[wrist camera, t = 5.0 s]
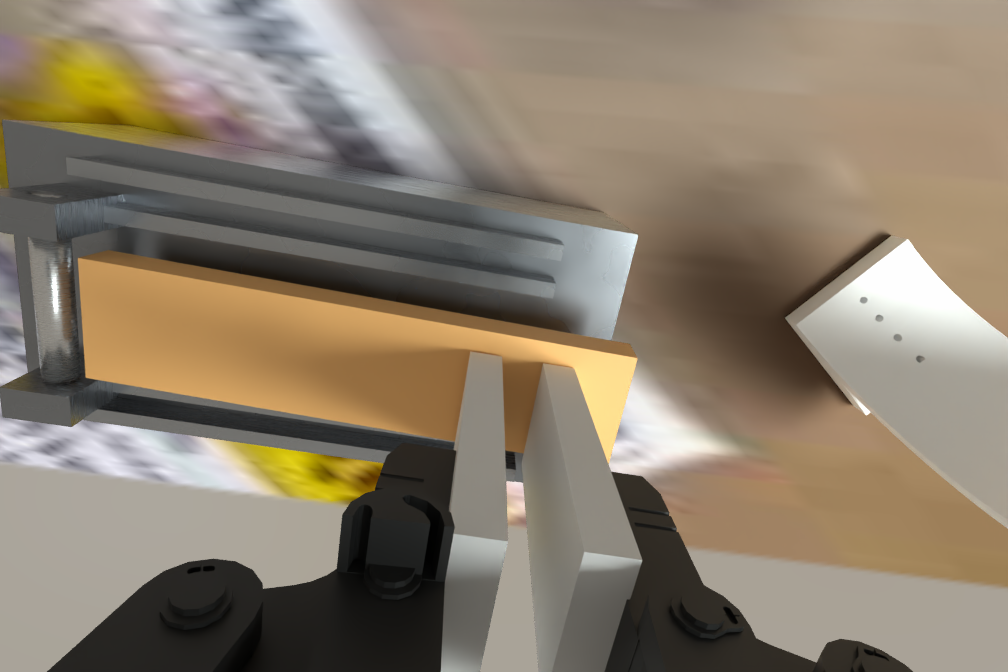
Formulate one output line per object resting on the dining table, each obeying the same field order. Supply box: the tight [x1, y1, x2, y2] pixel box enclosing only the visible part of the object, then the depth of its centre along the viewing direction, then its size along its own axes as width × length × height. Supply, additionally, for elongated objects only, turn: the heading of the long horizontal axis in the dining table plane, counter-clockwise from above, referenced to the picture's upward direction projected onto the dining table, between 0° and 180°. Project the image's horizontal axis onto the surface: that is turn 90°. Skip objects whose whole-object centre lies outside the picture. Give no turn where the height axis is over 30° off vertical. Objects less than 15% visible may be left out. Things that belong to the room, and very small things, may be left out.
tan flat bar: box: [78, 250, 638, 464], centre depth 14 cm, size 13×3×1 cm, turn 80°
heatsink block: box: [0, 120, 638, 482], centre depth 17 cm, size 16×8×8 cm, turn 80°
